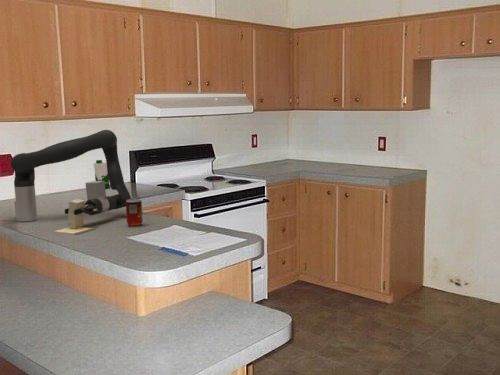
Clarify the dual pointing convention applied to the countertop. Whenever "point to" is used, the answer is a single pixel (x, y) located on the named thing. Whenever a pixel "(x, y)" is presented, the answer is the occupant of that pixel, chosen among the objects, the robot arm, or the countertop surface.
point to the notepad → (75, 230)
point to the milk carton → (101, 173)
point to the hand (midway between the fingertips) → (69, 212)
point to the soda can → (134, 212)
